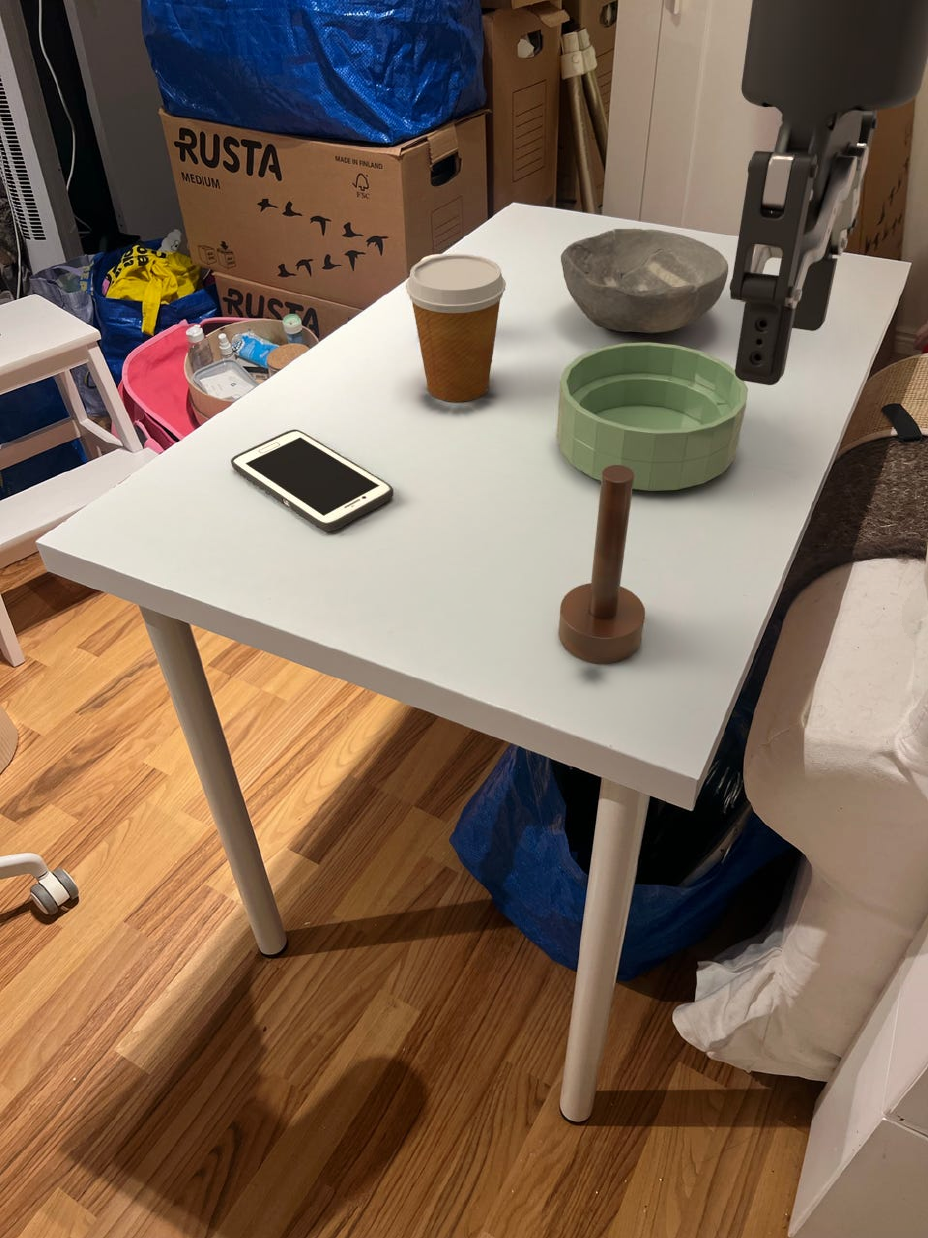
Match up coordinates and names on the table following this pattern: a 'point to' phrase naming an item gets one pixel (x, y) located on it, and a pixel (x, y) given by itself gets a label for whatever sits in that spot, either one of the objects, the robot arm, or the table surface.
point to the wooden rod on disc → (605, 585)
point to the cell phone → (312, 479)
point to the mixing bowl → (651, 414)
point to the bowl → (643, 279)
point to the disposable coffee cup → (456, 322)
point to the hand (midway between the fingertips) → (781, 351)
